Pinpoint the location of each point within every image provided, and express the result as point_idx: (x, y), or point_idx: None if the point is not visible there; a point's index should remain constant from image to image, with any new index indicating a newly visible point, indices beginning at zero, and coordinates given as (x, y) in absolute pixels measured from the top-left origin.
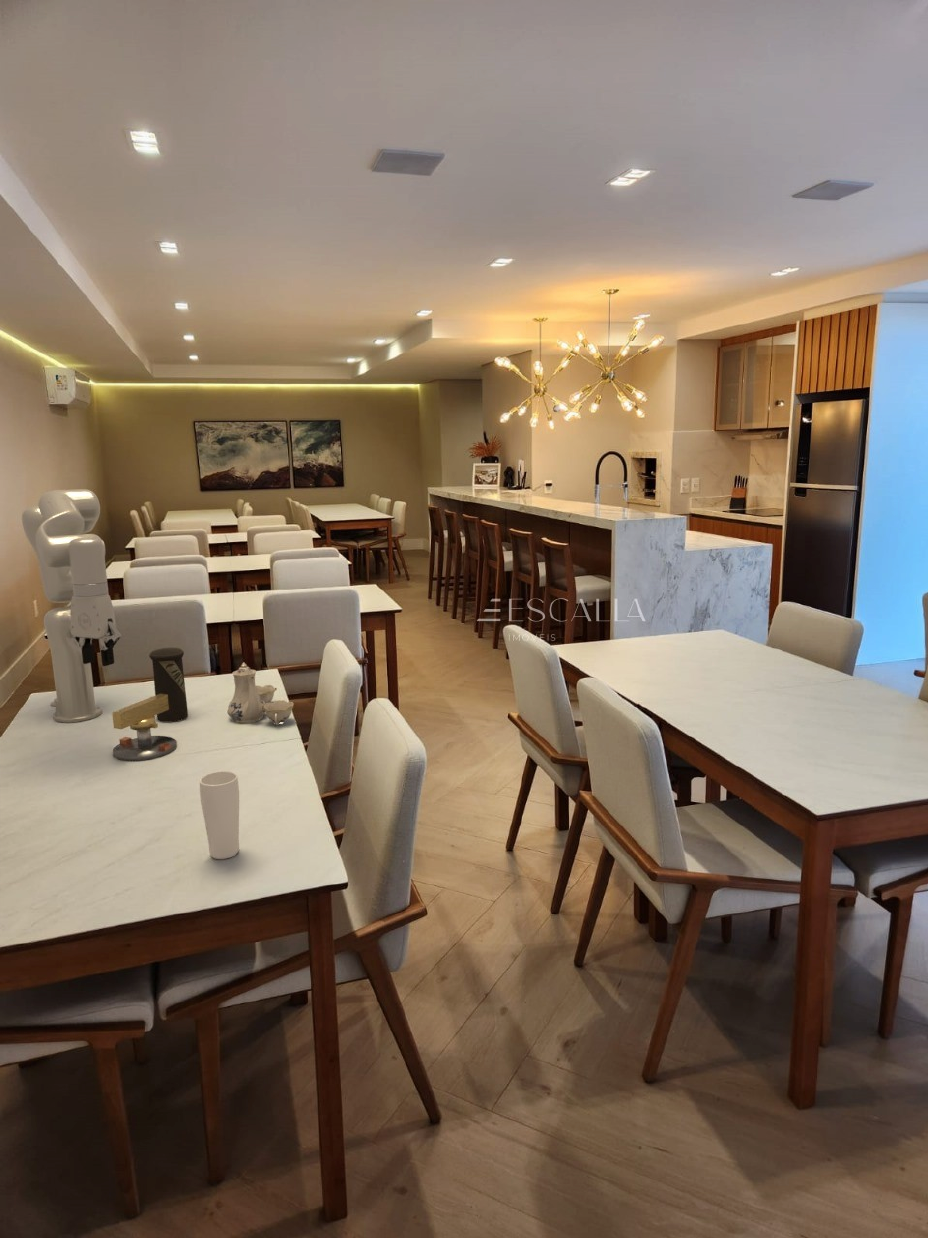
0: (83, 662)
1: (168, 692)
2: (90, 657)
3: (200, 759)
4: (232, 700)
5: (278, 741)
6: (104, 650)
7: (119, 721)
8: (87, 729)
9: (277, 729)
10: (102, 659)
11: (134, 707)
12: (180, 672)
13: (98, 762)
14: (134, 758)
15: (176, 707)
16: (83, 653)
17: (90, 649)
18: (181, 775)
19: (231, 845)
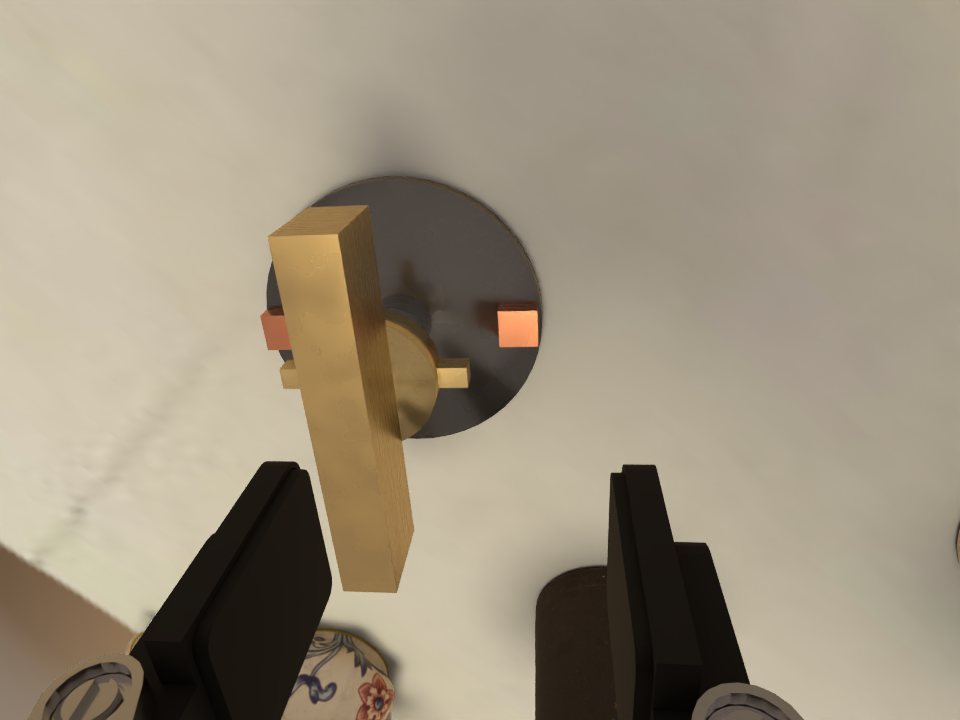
0: (648, 471)
1: (567, 690)
2: (615, 591)
3: (116, 318)
4: (331, 713)
5: (52, 537)
6: (160, 662)
7: (300, 220)
8: (888, 414)
9: (154, 615)
10: (241, 518)
11: (300, 367)
12: None
13: (480, 109)
14: (326, 196)
15: (545, 635)
16: (644, 577)
17: (625, 715)
18: (15, 152)
19: None
